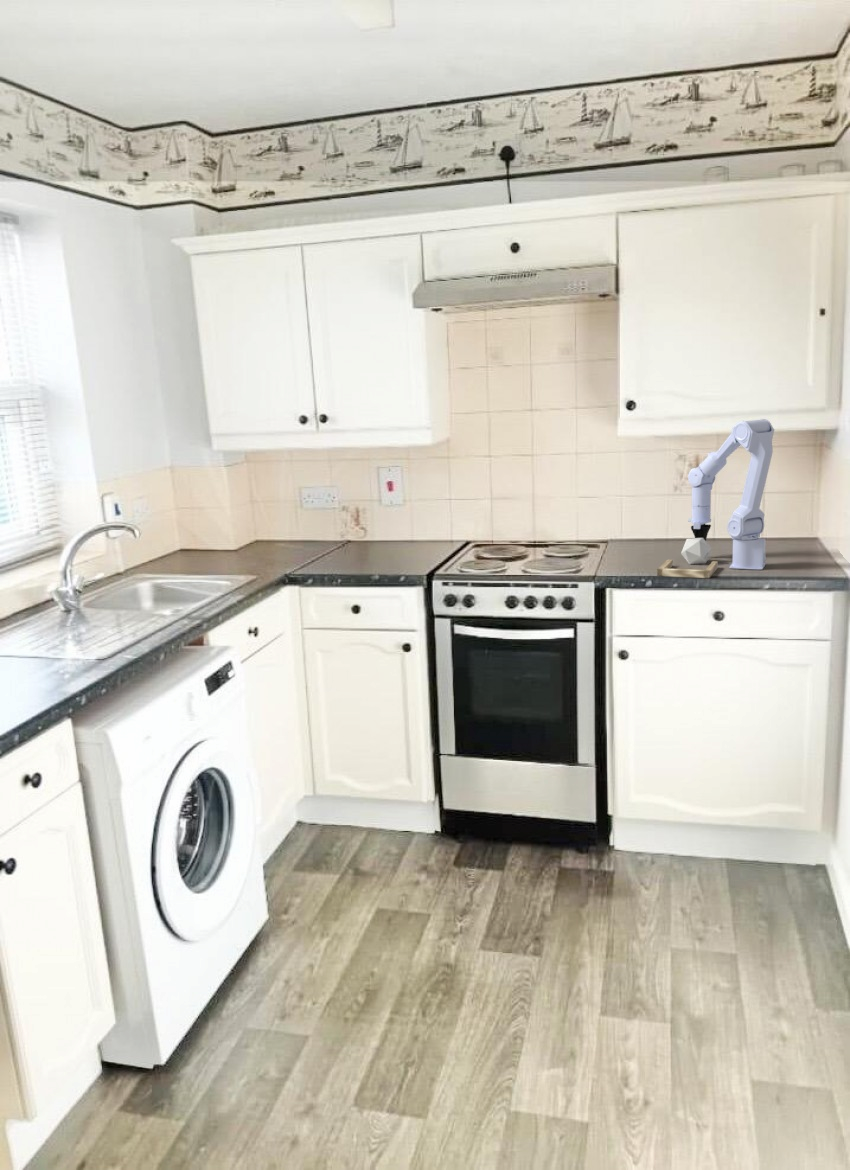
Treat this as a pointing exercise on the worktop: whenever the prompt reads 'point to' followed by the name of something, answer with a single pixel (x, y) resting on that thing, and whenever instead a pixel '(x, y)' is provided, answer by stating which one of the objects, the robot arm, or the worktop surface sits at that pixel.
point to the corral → (686, 570)
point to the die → (696, 551)
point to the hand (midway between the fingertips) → (700, 547)
